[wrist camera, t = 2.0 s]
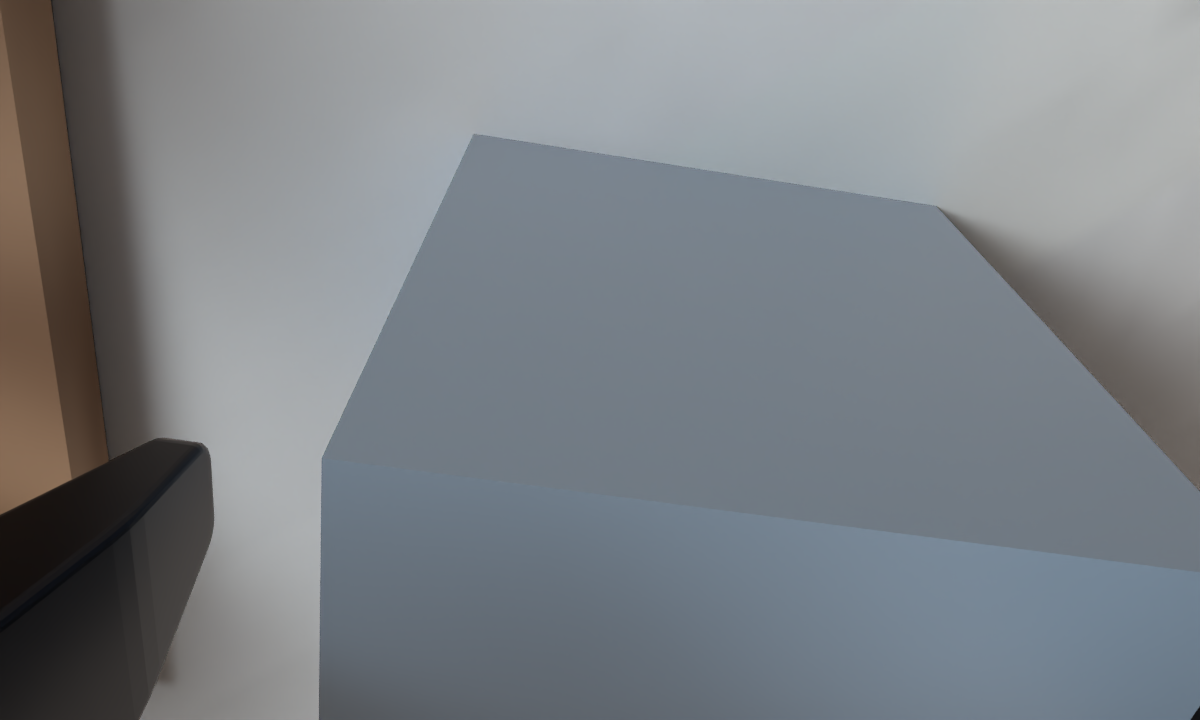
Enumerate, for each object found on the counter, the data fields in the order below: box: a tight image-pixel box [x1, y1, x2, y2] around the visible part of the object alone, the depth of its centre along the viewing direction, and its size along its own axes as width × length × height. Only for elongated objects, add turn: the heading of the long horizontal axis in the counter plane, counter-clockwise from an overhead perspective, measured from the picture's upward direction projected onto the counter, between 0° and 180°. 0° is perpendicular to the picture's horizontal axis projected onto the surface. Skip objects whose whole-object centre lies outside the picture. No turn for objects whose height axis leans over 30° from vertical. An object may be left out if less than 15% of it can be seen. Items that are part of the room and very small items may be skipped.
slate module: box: [319, 134, 1200, 720], centre depth 10 cm, size 4×6×7 cm, turn 81°
